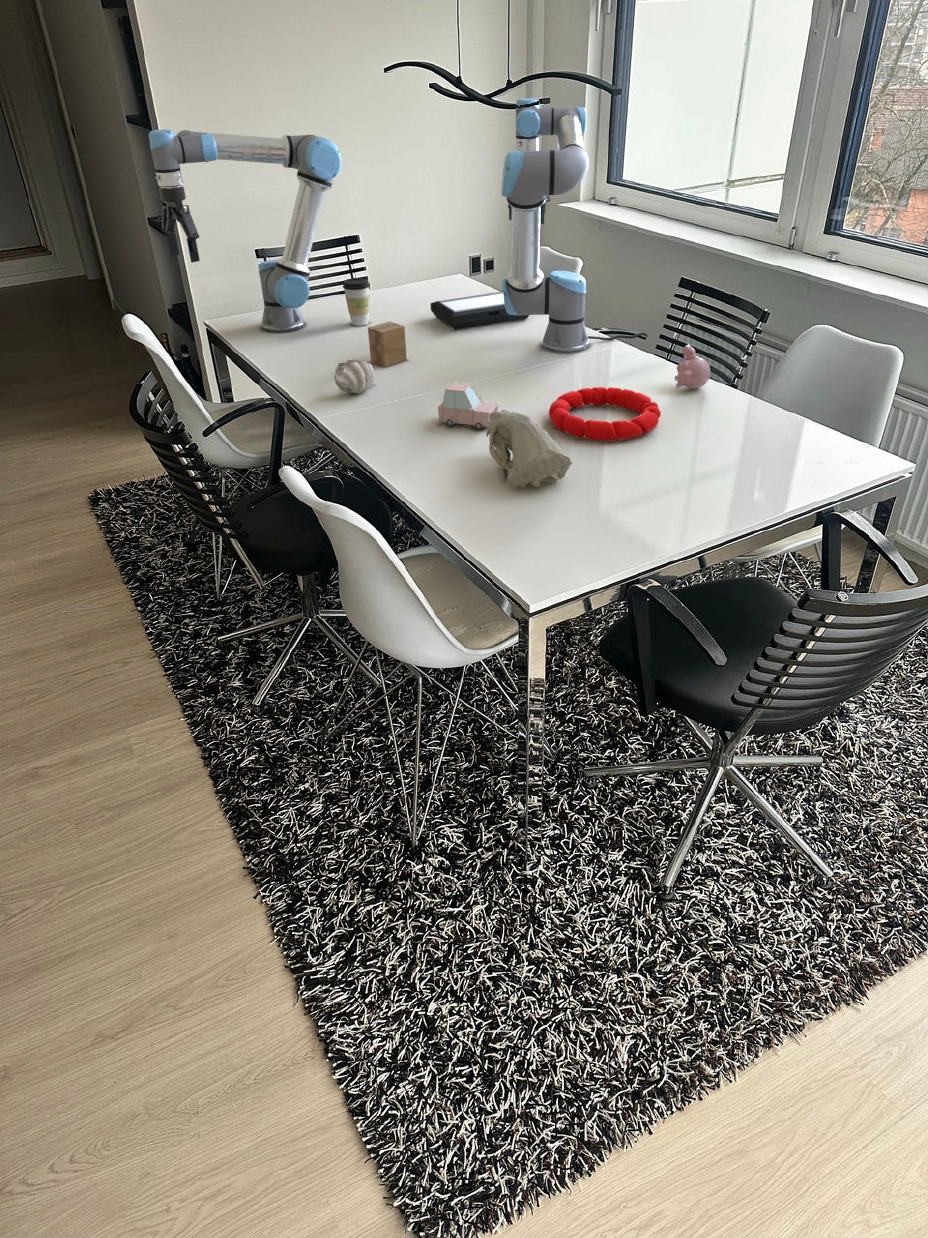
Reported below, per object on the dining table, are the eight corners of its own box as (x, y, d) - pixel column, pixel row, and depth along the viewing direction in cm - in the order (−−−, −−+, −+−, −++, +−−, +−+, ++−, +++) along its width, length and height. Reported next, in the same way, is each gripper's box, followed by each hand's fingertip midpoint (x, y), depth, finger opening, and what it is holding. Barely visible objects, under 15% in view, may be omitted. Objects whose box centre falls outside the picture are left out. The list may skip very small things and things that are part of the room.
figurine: (665, 387, 264) (669, 347, 257) (693, 380, 268) (698, 340, 261) (686, 396, 257) (690, 355, 250) (714, 388, 262) (720, 348, 255)
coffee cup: (372, 326, 323) (368, 283, 314) (345, 327, 323) (340, 284, 315) (374, 318, 331) (371, 276, 322) (348, 319, 331) (344, 277, 323)
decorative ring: (589, 435, 224) (684, 402, 234) (527, 398, 247) (617, 369, 256) (589, 461, 229) (683, 427, 238) (529, 422, 251) (617, 393, 260)
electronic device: (452, 314, 311) (430, 300, 326) (452, 332, 314) (431, 318, 330) (532, 301, 321) (508, 289, 336) (532, 319, 325) (508, 305, 340)
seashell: (327, 392, 269) (323, 359, 263) (372, 382, 274) (369, 350, 269) (340, 402, 261) (336, 369, 255) (386, 392, 267) (383, 359, 261)
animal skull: (496, 517, 219) (521, 479, 201) (463, 429, 225) (484, 384, 207) (557, 503, 225) (586, 465, 206) (523, 417, 231) (549, 373, 212)
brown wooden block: (370, 361, 291) (367, 327, 285) (392, 355, 296) (389, 321, 290) (385, 367, 286) (382, 332, 280) (406, 360, 291) (404, 325, 285)
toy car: (488, 432, 240) (488, 396, 234) (436, 426, 244) (434, 390, 239) (499, 419, 247) (499, 384, 241) (448, 413, 252) (447, 379, 246)
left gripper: (141, 183, 282) (156, 254, 294) (179, 192, 267) (193, 266, 279) (163, 180, 286) (177, 250, 298) (201, 188, 271) (214, 262, 283)
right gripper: (493, 150, 300) (493, 218, 312) (546, 156, 284) (544, 227, 296) (509, 148, 304) (509, 215, 316) (562, 153, 288) (560, 224, 300)
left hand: (185, 258), depth 289 cm, fingers open, 13 cm apart
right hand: (526, 221), depth 306 cm, fingers open, 13 cm apart
